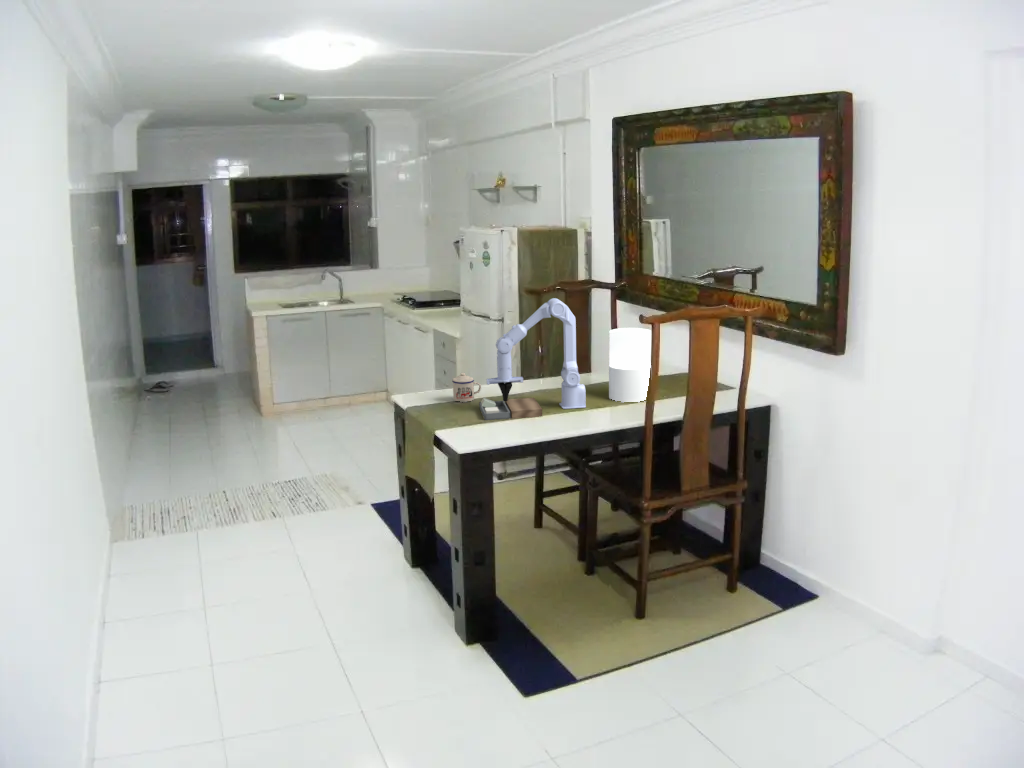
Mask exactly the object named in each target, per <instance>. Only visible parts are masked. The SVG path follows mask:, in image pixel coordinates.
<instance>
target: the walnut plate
mask: <svg viewBox="0 0 1024 768" xmlns="http://www.w3.org/2000/svg"><path fill="white" fill-rule="evenodd" d="M504 402H505V404H506V406H507V407H508V409H509V411H510V417H511V419H525V418H526V417H528V418H540V417H539V416H542V417H543V408H542V407H541V406H540V404H539V402H538V401H537V399H536V398H535V397H522V398H521V397H520V398H508V400H507V401H504Z"/></svg>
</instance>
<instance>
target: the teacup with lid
mask: <svg viewBox="0 0 1024 768" xmlns="http://www.w3.org/2000/svg"><path fill="white" fill-rule="evenodd" d="M474 385H478V386H479V387H478V390H477V391H475V389H474V388H475V387H474ZM452 389H453V390H452V394H453V396H452V397H453V401H454V400H455V401H460V402H459V403H462V402H463V403H467V402H466V401H471V402H473V401H474V400H475V395H477V394H479V393H480V391H481V390H482V384H480V382H477V381H475V379H474V377H472V376H469V375H466V373H465V372H461V373H460V374H459V375H457V376H456V377H453V378H452ZM472 400H473V401H472ZM455 401H454V402H455Z"/></svg>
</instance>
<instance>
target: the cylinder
mask: <svg viewBox="0 0 1024 768" xmlns="http://www.w3.org/2000/svg"><path fill="white" fill-rule="evenodd" d="M608 335H609V337H608V343H609V344H608V398H609V400H611V399H612V401H613V400H615V401H614V402H617V401H621V402H620V403H624V402H638V403H641V402H640V401H644V400H646V397H647V391H648V386H649V378H650V368H651V369H652V365H651V364H652V362H651V361H652V330H651V329H648V328H641V327H619V328H614V329H610V330H609V333H608ZM644 402H645V401H644Z"/></svg>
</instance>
